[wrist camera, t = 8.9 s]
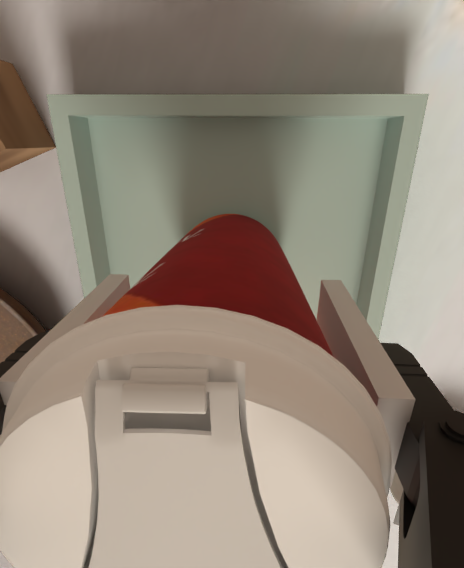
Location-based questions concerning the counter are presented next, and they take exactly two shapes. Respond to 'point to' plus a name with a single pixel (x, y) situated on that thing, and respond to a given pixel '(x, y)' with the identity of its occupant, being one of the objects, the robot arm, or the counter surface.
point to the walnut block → (19, 122)
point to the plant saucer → (15, 325)
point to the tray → (241, 179)
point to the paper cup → (196, 427)
